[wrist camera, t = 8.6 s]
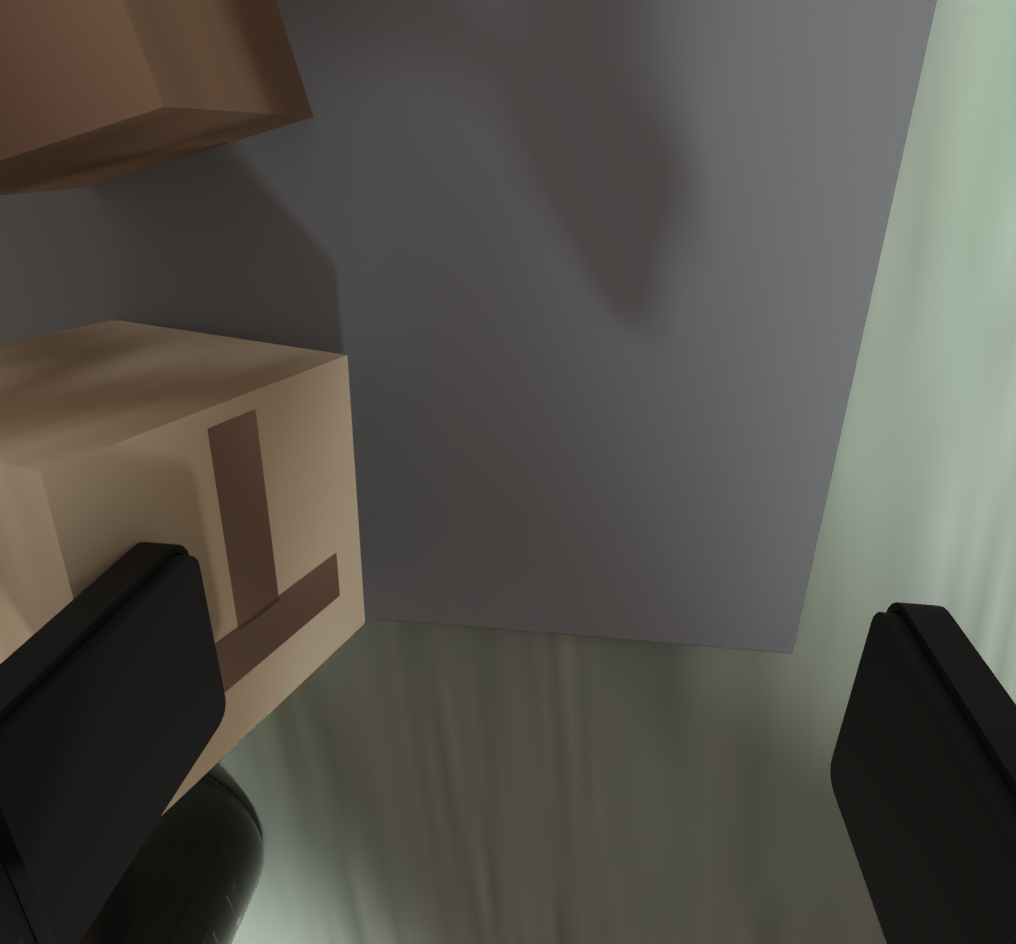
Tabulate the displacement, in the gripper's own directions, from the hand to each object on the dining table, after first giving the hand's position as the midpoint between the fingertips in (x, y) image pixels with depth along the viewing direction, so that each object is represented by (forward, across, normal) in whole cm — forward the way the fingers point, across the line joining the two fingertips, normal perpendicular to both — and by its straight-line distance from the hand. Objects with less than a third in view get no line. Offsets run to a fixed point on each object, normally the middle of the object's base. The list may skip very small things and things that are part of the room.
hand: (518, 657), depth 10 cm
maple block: (+2, +5, 0) cm, 5 cm away
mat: (+7, +6, -4) cm, 10 cm away
